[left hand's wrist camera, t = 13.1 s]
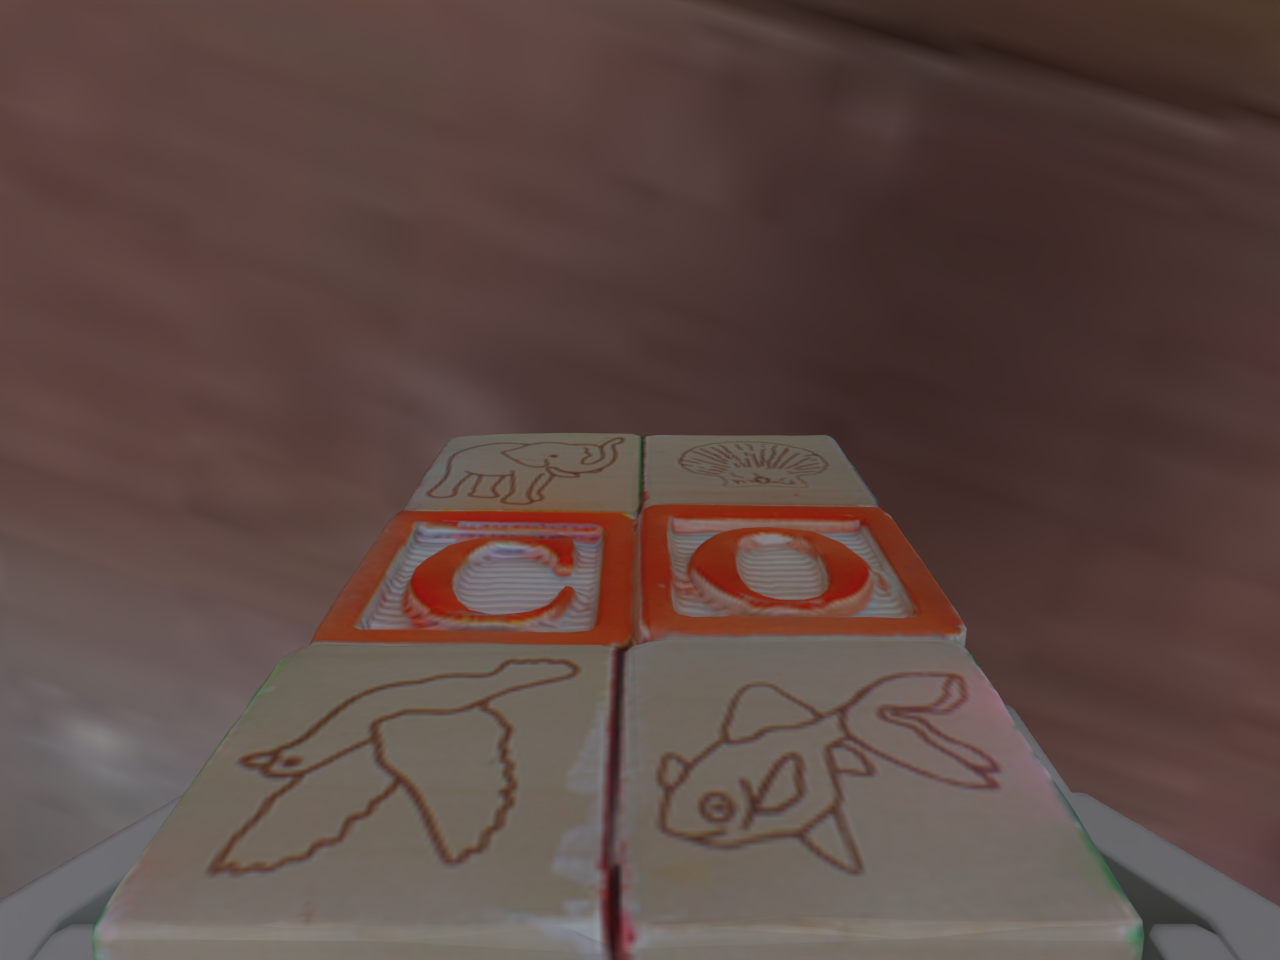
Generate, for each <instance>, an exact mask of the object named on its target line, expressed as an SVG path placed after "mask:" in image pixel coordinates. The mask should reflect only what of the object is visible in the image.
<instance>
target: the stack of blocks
mask: <svg viewBox="0 0 1280 960" xmlns="http://www.w3.org/2000/svg"><path fill="white" fill-rule="evenodd" d="M966 633H967V629H966V627H965V625H964V623H963V621H962V620H961V618H960V616H959V614H958V612H957V611H956V610H955V608H954V607H953V605H952V604H951V602H950V601H949V599H948V598H947V597H946V595H945V594H944V592H943V591H942V589H941V588H940V586H939V585H938V584H937V582H936V581H935V579H934V578H933V576H932V575H931V573H930V572H929V570H928V569H927V567H926V566H925V564H924V563H923V561H922V559H921V558H920V557H919V555H918V554H917V553H916V551H915V550H914V548H913V547H912V546H911V544H910V543H909V542H908V540H907V539H906V538H905V536H904V535H903V533H902V532H901V530H900V529H899V527H898V526H897V525H896V523H895V522H894V520H893V519H892V517H891V516H890V515H889V514H887V513H886V512H885V511H883V510H882V509H881V508H880V507H879V504H878V501H877V499H876V497H875V496H874V494H873V493H872V491H871V490H870V489H869V487H868V486H867V485H866V484H865V482H864V481H863V480H862V479H861V477H860V475H859V474H858V472H857V470H856V469H855V467H854V466H853V465H852V464H851V463H850V462H849V460H848V459H847V457H846V456H845V454H844V453H843V451H842V450H841V448H840V447H839V445H838V444H837V442H836V441H835V440H834V438H832V437H830V436H827V435H807V436H783V435H753V436H705V435H655V436H647V437H642V436H638V435H634V434H607V433H538V434H494V435H477V436H460V437H456V438H453V439H450V440H449V442H448V443H447V444H446V445H445V447H444V448H443V449H442V451H441V452H440V453H439V455H438V456H437V458H436V459H435V460H434V462H433V463H432V464H431V466H430V467H429V469H428V470H427V471H426V473H425V474H424V476H423V478H422V480H421V482H420V483H419V485H418V487H417V488H416V490H415V491H414V492H413V494H412V496H411V499H410V500H409V502H408V503H407V505H406V506H405V508H404V510H403V511H401V512H399V513H396V514H394V515H393V517H392V518H391V519H390V520H389V521H388V523H387V524H386V526H385V528H384V529H383V531H382V533H381V534H380V536H379V538H378V539H377V541H376V542H375V543H374V544H373V546H372V547H371V548H370V550H369V552H368V553H367V555H366V556H365V558H364V560H363V561H362V563H361V564H360V566H359V567H358V569H357V570H356V572H355V573H354V574H353V576H352V577H351V579H350V580H349V581H348V583H347V584H346V585H345V587H344V588H343V589H342V591H341V592H340V593H339V595H338V596H337V598H336V600H335V601H334V603H333V604H332V606H331V608H330V609H329V611H328V612H327V614H326V616H325V617H324V619H323V620H322V622H321V624H320V625H319V627H318V629H317V630H316V632H315V634H314V636H313V639H312V641H311V643H310V646H307V647H301V648H297V649H295V650H294V651H292V652H291V653H289V654H288V655H287V656H285V657H284V658H282V659H281V660H280V661H279V662H278V664H277V665H276V667H275V668H274V670H273V671H272V673H271V674H270V676H269V677H268V678H267V680H266V681H265V682H264V683H263V685H262V686H261V687H260V689H259V690H258V691H257V692H256V694H255V695H254V696H253V697H252V699H251V701H250V702H249V704H248V706H247V708H246V709H245V711H244V713H243V714H242V716H241V717H240V718H239V719H238V720H237V721H236V723H235V724H234V725H233V726H232V727H231V728H230V730H229V731H228V732H227V734H226V735H225V737H224V738H223V740H222V741H221V742H220V744H219V745H218V747H217V748H216V750H215V751H214V752H213V754H212V755H211V756H210V758H209V759H208V760H207V762H206V763H205V765H204V766H203V768H202V769H201V771H200V772H199V774H198V775H197V777H196V778H195V780H194V781H193V782H192V784H191V785H190V787H189V788H188V789H187V791H186V792H185V794H184V795H183V796H182V798H181V799H180V801H179V802H178V803H177V805H176V806H175V808H174V809H173V811H172V812H171V813H170V815H169V816H168V818H167V819H166V820H165V822H164V823H163V825H162V826H161V827H160V829H159V830H158V832H157V833H156V834H155V836H154V837H153V839H152V840H151V841H150V843H149V844H148V846H147V847H146V848H145V850H144V851H143V853H142V854H141V855H140V857H139V858H138V860H137V861H136V863H135V864H134V865H133V867H132V868H131V869H130V871H129V872H128V874H127V875H126V876H125V878H124V879H123V880H122V882H121V883H120V884H119V886H118V887H117V888H116V890H115V892H114V893H113V895H112V896H111V898H110V900H109V901H108V903H107V905H106V906H105V908H104V909H103V911H102V913H101V914H100V916H99V917H98V919H97V921H96V922H95V924H94V925H93V932H92V948H93V960H1141V958H1142V952H1143V944H1144V930H1143V921H1142V919H1141V918H1140V916H1139V914H1138V913H1137V911H1136V910H1135V908H1134V907H1133V905H1132V904H1131V902H1130V900H1129V899H1128V897H1127V896H1126V894H1125V893H1124V891H1123V890H1122V888H1121V886H1120V885H1119V883H1118V882H1117V880H1116V878H1115V877H1114V875H1113V873H1112V872H1111V870H1110V869H1109V867H1108V865H1107V864H1106V862H1105V861H1104V859H1103V857H1102V856H1101V854H1100V852H1099V851H1098V849H1097V848H1096V846H1095V844H1094V843H1093V841H1092V839H1091V838H1090V836H1089V834H1088V833H1087V831H1086V829H1085V828H1084V826H1083V824H1082V822H1081V821H1080V819H1079V817H1078V816H1077V814H1076V812H1075V811H1074V809H1073V808H1072V806H1071V805H1070V803H1069V802H1068V800H1067V799H1066V797H1065V796H1064V795H1063V793H1062V792H1061V790H1060V789H1059V787H1058V786H1057V784H1056V783H1055V781H1054V780H1053V778H1052V777H1051V775H1050V774H1049V773H1048V771H1047V770H1046V768H1045V767H1044V765H1043V764H1042V762H1041V761H1040V759H1039V758H1038V757H1037V755H1036V754H1035V752H1034V751H1033V749H1032V748H1031V746H1030V745H1029V744H1028V742H1027V741H1026V739H1025V738H1024V736H1023V735H1022V733H1021V732H1020V731H1019V729H1018V728H1017V726H1016V725H1015V723H1014V721H1013V719H1012V718H1011V716H1010V714H1009V712H1008V710H1007V709H1006V707H1005V705H1004V703H1003V702H1002V700H1001V698H1000V696H999V694H998V693H997V691H996V690H995V689H994V687H993V686H992V685H991V683H990V682H989V680H988V679H987V678H986V676H985V675H984V673H983V672H982V671H981V669H980V668H979V666H978V665H977V663H976V662H975V660H974V659H973V657H972V655H971V654H970V653H969V652H968V650H967V649H966V648H965V640H966Z"/></svg>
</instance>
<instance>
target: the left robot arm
mask: <svg viewBox="0 0 1280 960" xmlns="http://www.w3.org/2000/svg"><path fill="white" fill-rule="evenodd" d="M1004 705H1005V707H1006V709H1007V710H1008V712H1009V714H1010V716H1011V718H1012V719H1013V721H1014V723H1015V725H1016V726H1017V728H1018V729H1019V731H1020V732H1021V733H1022V735H1023V736H1024V738H1025V739H1026V741H1027V742H1028V744H1029V745H1030V746H1031V748H1032V749H1033V751H1034V752H1035V754H1036V755H1037V757H1038V758H1039V759H1040V761H1041V762H1042V764H1043V765H1044V767H1045V768H1046V770H1047V771H1048V773H1049V774H1050V775H1051V777H1052V778H1053V780H1054V781H1055V783H1056V784H1057V786H1058V787H1059V789H1060V790H1061V792H1062V793H1063V795H1064V796H1065V797H1066V799H1067V800H1068V802H1069V803H1070V805H1071V806H1072V808H1073V809H1074V811H1075V812H1076V814H1077V816H1078V817H1079V819H1080V821H1081V822H1082V824H1083V826H1084V828H1085V829H1086V831H1087V833H1088V834H1089V836H1090V838H1091V839H1092V841H1093V843H1094V844H1095V846H1096V848H1097V849H1098V851H1099V852H1100V854H1101V856H1102V857H1103V859H1104V861H1105V862H1106V864H1107V865H1108V867H1109V869H1110V870H1111V872H1112V873H1113V875H1114V877H1115V878H1116V880H1117V882H1118V883H1119V885H1120V886H1121V888H1122V890H1123V891H1124V893H1125V894H1126V896H1127V897H1128V899H1129V900H1130V902H1131V904H1132V905H1133V907H1134V908H1135V910H1136V911H1137V913H1138V914H1139V916H1140V918H1141V919H1142V921H1143V930H1144V944H1143V952H1142V958H1141V960H1280V907H1279V906H1277V905H1275V904H1274V903H1272V902H1270V901H1269V900H1267V899H1265V898H1263V897H1262V896H1260V895H1258V894H1257V893H1255V892H1253V891H1252V890H1250V889H1248V888H1246V887H1245V886H1243V885H1241V884H1240V883H1238V882H1236V881H1234V880H1233V879H1231V878H1229V877H1228V876H1226V875H1224V874H1222V873H1221V872H1219V871H1217V870H1216V869H1214V868H1212V867H1210V866H1209V865H1207V864H1205V863H1204V862H1202V861H1200V860H1198V859H1197V858H1195V857H1193V856H1192V855H1190V854H1188V853H1187V852H1185V851H1183V850H1181V849H1180V848H1178V847H1176V846H1175V845H1173V844H1171V843H1169V842H1168V841H1166V840H1164V839H1163V838H1161V837H1159V836H1157V835H1156V834H1154V833H1152V832H1151V831H1149V830H1147V829H1145V828H1144V827H1142V826H1140V825H1139V824H1137V823H1135V822H1134V821H1132V820H1130V819H1128V818H1127V817H1125V816H1123V815H1122V814H1120V813H1118V812H1116V811H1115V810H1113V809H1111V808H1110V807H1108V806H1106V805H1104V804H1103V803H1101V802H1099V801H1098V800H1096V799H1094V798H1092V797H1091V796H1089V795H1087V794H1086V793H1072V792H1071V791H1070V789H1069V788H1068V787H1067V785H1066V784H1065V782H1064V781H1063V779H1062V778H1061V776H1060V775H1059V774H1058V772H1057V771H1056V769H1055V768H1054V766H1053V765H1052V763H1051V762H1050V761H1049V759H1048V758H1047V756H1046V755H1045V753H1044V752H1043V750H1042V749H1041V748H1040V746H1039V745H1038V743H1037V742H1036V740H1035V739H1034V737H1033V736H1032V735H1031V733H1030V732H1029V730H1028V729H1027V727H1026V726H1025V724H1024V723H1023V722H1022V720H1021V719H1020V717H1019V716H1018V714H1017V713H1016V711H1015V710H1014V709H1013V708H1012V707H1010V706H1008V705H1007V704H1004ZM182 796H183V795H182ZM182 796H180V797H178V798H177V799H175V800H173V801H171V802H170V803H168V804H166V805H164V806H163V807H161V808H159V809H158V810H156V811H154V812H152V813H151V814H149V815H147V816H145V817H144V818H142V819H140V820H138V821H137V822H135V823H133V824H132V825H130V826H128V827H126V828H125V829H123V830H121V831H119V832H118V833H116V834H114V835H112V836H111V837H109V838H107V839H106V840H104V841H102V842H100V843H99V844H97V845H95V846H93V847H92V848H90V849H88V850H87V851H85V852H83V853H81V854H80V855H78V856H76V857H74V858H73V859H71V860H69V861H67V862H66V863H64V864H62V865H61V866H59V867H57V868H55V869H54V870H52V871H50V872H48V873H47V874H45V875H43V876H41V877H40V878H38V879H36V880H35V881H33V882H31V883H29V884H28V885H26V886H24V887H22V888H21V889H19V890H17V891H16V892H14V893H12V894H10V895H9V896H7V897H5V898H3V899H2V900H0V960H93V948H92V932H93V925H94V924H95V922H96V921H97V919H98V917H99V916H100V914H101V913H102V911H103V909H104V908H105V906H106V905H107V903H108V901H109V900H110V898H111V896H112V895H113V893H114V892H115V890H116V888H117V887H118V886H119V884H120V883H121V882H122V880H123V879H124V878H125V876H126V875H127V874H128V872H129V871H130V869H131V868H132V867H133V865H134V864H135V863H136V861H137V860H138V858H139V857H140V855H141V854H142V853H143V851H144V850H145V848H146V847H147V846H148V844H149V843H150V841H151V840H152V839H153V837H154V836H155V834H156V833H157V832H158V830H159V829H160V827H161V826H162V825H163V823H164V822H165V820H166V819H167V818H168V816H169V815H170V813H171V812H172V811H173V809H174V808H175V806H176V805H177V803H178V802H179V801H180V799H181V798H182Z"/></svg>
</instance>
